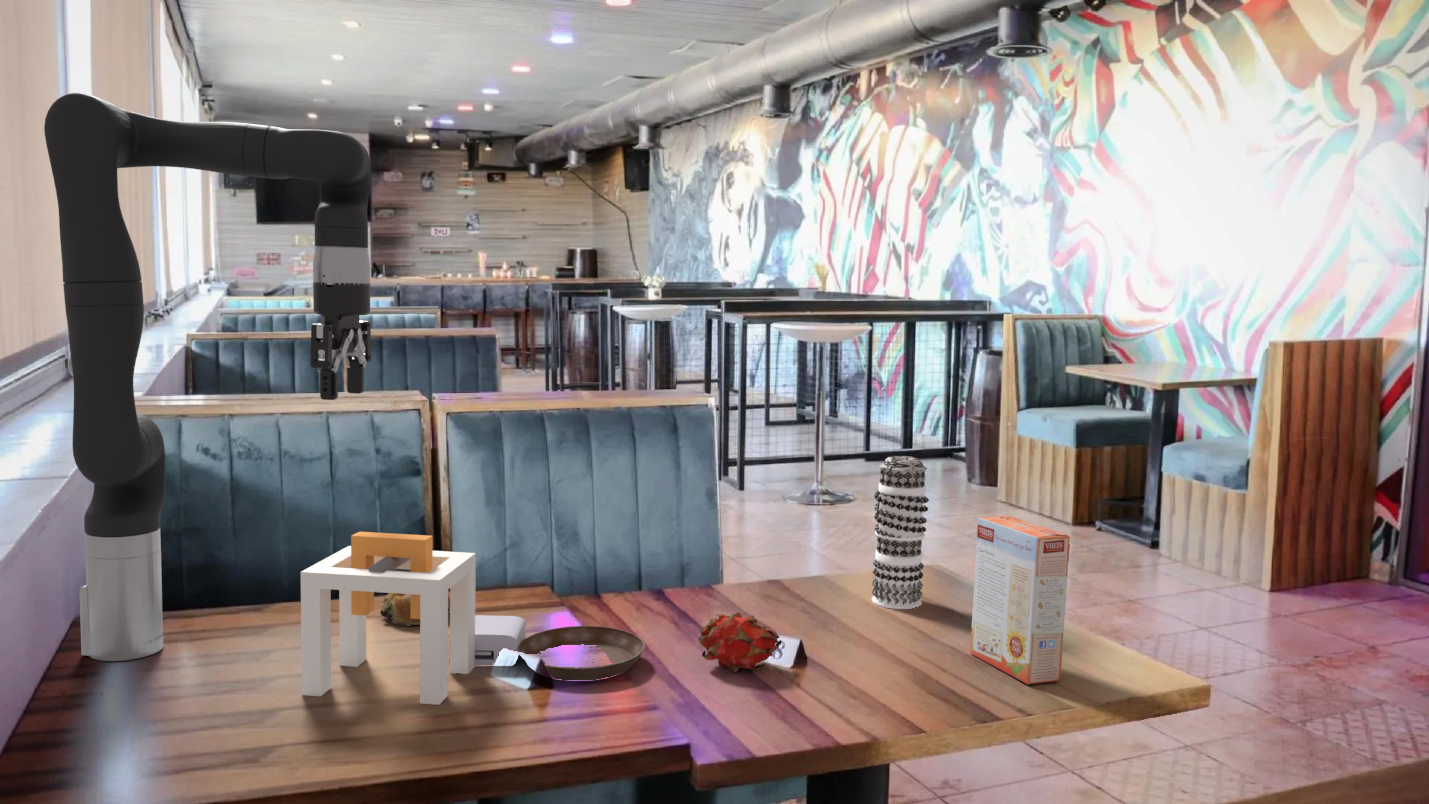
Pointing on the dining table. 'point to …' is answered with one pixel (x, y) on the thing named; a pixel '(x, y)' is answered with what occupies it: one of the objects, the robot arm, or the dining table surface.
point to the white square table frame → (380, 577)
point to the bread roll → (400, 609)
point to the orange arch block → (388, 546)
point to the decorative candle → (899, 533)
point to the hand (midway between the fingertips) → (342, 396)
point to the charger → (496, 636)
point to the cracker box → (1020, 598)
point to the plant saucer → (612, 641)
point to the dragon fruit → (738, 642)
